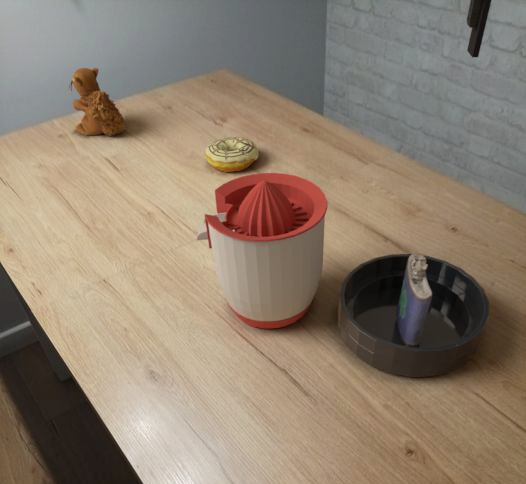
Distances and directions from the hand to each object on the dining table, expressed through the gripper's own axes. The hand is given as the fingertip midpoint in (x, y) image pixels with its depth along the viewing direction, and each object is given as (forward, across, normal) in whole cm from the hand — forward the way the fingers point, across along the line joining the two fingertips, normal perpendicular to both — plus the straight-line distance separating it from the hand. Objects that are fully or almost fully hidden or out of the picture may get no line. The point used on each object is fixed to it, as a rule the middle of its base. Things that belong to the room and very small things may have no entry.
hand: (523, 51), depth 69 cm
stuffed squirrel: (+27, -74, +43) cm, 90 cm away
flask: (+26, -16, -25) cm, 40 cm away
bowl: (+27, -16, -25) cm, 40 cm away
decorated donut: (+27, -43, +25) cm, 57 cm away
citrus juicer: (+27, -36, -19) cm, 49 cm away
